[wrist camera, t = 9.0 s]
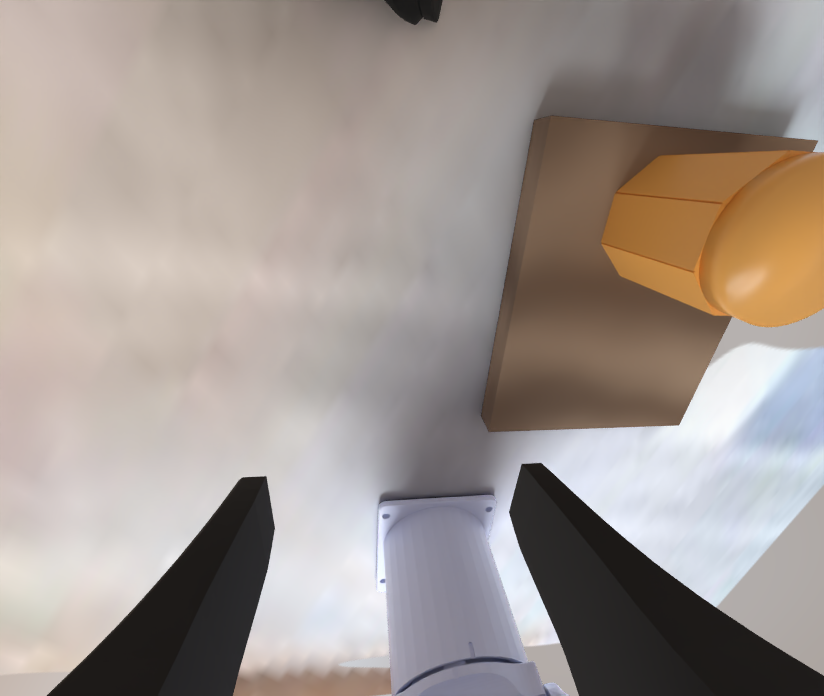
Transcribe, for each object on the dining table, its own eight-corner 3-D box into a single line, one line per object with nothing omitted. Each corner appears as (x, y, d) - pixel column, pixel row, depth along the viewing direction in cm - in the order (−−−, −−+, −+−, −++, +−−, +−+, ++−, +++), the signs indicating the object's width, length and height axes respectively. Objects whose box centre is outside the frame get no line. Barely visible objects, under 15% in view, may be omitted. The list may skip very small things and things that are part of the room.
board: (660, 410, 23) (740, 475, 18) (480, 415, 21) (515, 488, 17) (781, 142, 16) (958, 132, 12) (533, 120, 15) (618, 97, 10)
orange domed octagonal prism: (687, 278, 17) (832, 327, 12) (591, 275, 17) (699, 326, 11) (734, 161, 15) (939, 157, 10) (626, 152, 14) (782, 144, 9)
